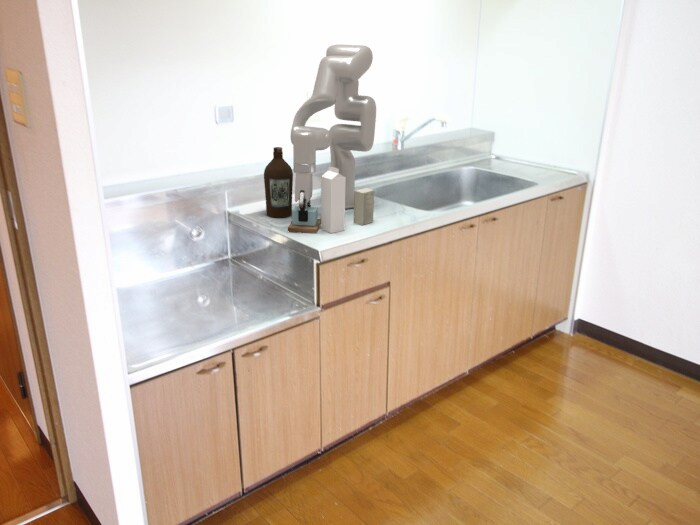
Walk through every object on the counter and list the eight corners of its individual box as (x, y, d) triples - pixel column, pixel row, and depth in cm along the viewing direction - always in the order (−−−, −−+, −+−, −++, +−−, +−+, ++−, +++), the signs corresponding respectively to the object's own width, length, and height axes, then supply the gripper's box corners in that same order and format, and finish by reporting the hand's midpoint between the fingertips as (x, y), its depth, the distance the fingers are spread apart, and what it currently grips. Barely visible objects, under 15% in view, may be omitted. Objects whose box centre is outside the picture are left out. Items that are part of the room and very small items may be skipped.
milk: (330, 233, 211) (331, 170, 203) (320, 229, 216) (320, 166, 208) (345, 230, 215) (346, 168, 206) (334, 226, 219) (335, 164, 211)
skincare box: (365, 219, 227) (366, 187, 223) (373, 222, 224) (375, 189, 220) (352, 223, 223) (353, 190, 219) (361, 225, 220) (362, 192, 216)
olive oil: (263, 211, 234) (261, 145, 225) (291, 210, 237) (290, 144, 228) (266, 219, 225) (264, 150, 216) (295, 218, 227) (294, 150, 218)
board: (293, 221, 223) (293, 217, 222) (321, 223, 222) (321, 219, 221) (287, 232, 211) (287, 227, 211) (316, 233, 211) (316, 229, 210)
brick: (295, 219, 219) (295, 205, 217) (317, 220, 218) (317, 207, 217) (292, 224, 214) (292, 210, 212) (315, 225, 213) (315, 211, 211)
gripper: (297, 162, 217) (298, 211, 224) (289, 172, 201) (289, 225, 208) (319, 163, 217) (318, 212, 223) (311, 173, 201) (311, 226, 207)
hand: (304, 218), depth 215 cm, fingers closed on brick, 6 cm apart
